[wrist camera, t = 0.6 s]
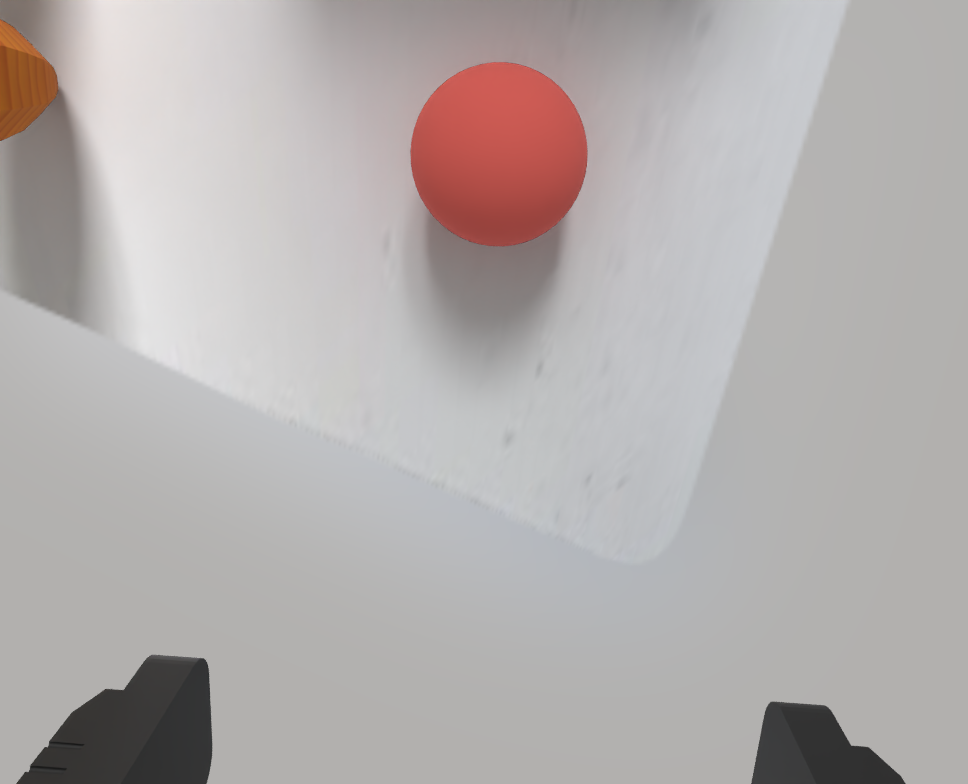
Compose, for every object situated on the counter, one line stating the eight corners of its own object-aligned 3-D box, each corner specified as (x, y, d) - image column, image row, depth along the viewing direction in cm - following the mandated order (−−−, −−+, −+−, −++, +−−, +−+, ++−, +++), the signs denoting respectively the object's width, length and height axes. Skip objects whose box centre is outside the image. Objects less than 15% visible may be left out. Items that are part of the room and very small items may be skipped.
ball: (423, 62, 30) (402, 49, 24) (588, 73, 29) (605, 62, 24) (418, 228, 32) (396, 252, 26) (572, 238, 31) (584, 265, 26)
